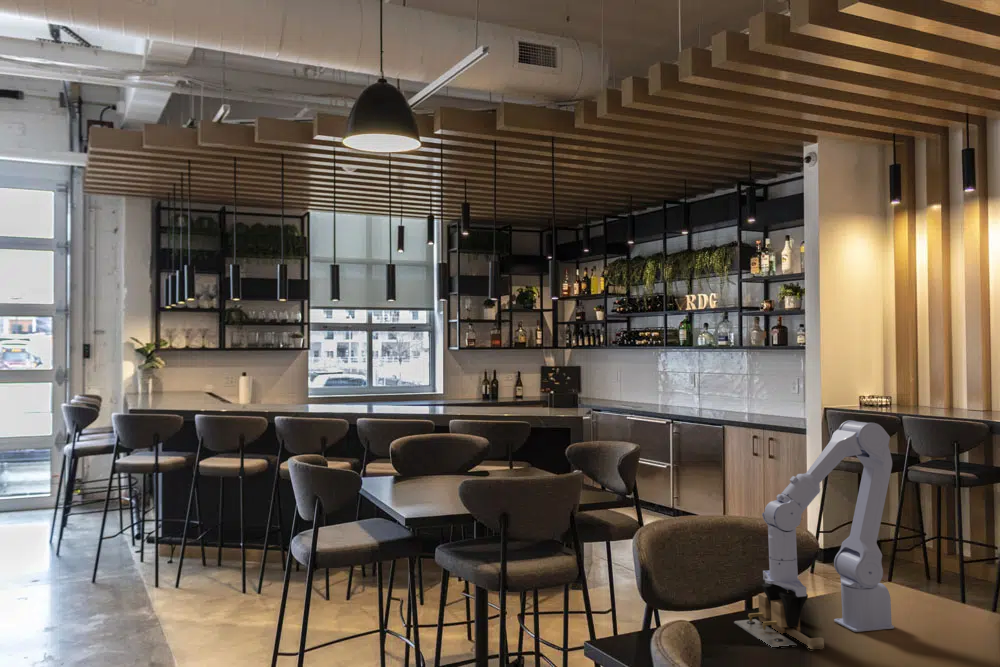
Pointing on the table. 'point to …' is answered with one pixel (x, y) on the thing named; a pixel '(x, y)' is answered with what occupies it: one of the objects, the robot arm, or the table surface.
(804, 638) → the rail
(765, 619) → the fixed leg
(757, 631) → the bolt plate
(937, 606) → the table surface
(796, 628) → the brown block with peg
